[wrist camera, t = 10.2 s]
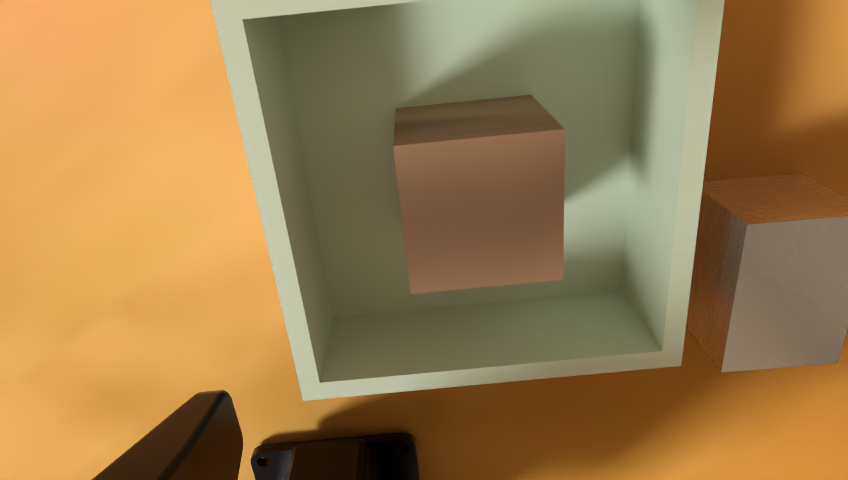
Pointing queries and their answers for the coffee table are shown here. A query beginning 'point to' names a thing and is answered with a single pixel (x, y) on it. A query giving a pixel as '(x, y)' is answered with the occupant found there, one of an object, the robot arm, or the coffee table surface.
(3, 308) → the coffee table surface
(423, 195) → the walnut block
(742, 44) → the coffee table surface
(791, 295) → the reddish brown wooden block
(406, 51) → the bin
